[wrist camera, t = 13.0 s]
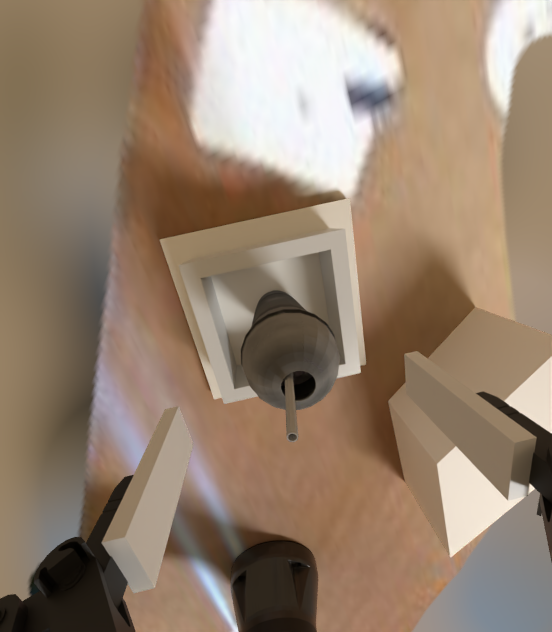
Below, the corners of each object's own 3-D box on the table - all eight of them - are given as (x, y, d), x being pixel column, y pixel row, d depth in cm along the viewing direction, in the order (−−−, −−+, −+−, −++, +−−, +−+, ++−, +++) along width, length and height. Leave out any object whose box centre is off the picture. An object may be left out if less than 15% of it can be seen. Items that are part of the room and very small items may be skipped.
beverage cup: (288, 347, 32) (339, 521, 13) (233, 322, 30) (203, 480, 12) (318, 296, 30) (429, 412, 11) (262, 266, 29) (283, 345, 10)
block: (361, 479, 42) (395, 558, 32) (421, 299, 33) (495, 331, 23) (445, 482, 44) (502, 557, 34) (524, 313, 35) (634, 348, 25)
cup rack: (363, 360, 35) (384, 387, 29) (215, 394, 34) (207, 427, 29) (346, 198, 28) (370, 192, 22) (162, 239, 28) (139, 242, 22)
